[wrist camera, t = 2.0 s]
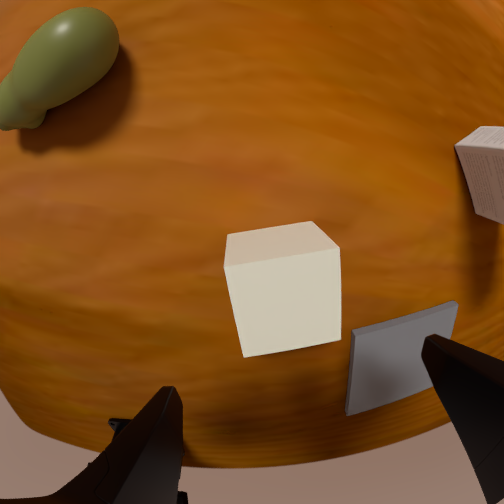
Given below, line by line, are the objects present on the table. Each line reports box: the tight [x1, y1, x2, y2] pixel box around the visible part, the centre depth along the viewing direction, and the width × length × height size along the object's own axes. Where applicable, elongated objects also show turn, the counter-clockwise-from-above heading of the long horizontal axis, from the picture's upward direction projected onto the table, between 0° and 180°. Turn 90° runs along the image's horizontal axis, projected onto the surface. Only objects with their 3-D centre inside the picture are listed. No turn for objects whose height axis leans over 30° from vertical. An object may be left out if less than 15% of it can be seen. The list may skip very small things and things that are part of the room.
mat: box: [345, 300, 458, 416], centre depth 21 cm, size 10×10×1 cm
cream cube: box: [224, 221, 341, 357], centre depth 15 cm, size 5×5×5 cm
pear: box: [0, 7, 119, 131], centre depth 10 cm, size 6×5×10 cm
